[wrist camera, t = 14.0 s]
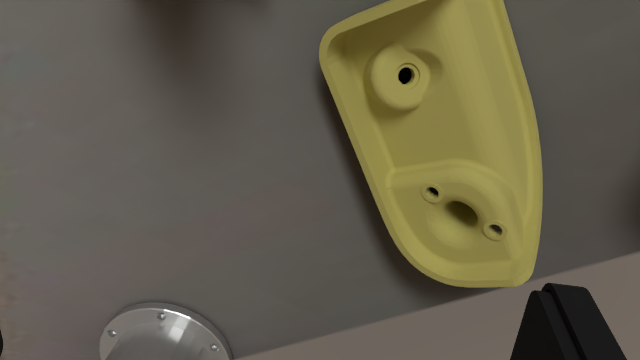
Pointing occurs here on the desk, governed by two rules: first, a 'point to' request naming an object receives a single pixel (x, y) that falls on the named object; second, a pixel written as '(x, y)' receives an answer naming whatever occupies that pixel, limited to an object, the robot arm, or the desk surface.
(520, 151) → the plastic component
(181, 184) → the desk surface
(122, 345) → the robot arm
